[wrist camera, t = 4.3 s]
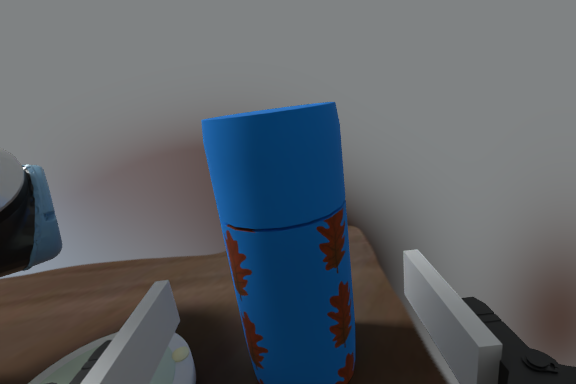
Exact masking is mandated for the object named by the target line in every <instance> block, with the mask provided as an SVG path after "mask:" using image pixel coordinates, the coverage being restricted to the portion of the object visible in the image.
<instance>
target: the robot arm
mask: <svg viewBox="0 0 576 384" xmlns="http://www.w3.org/2000/svg"><path fill="white" fill-rule="evenodd" d="M61 249H62V240H61V236H60V231H59V227H58V223H57V219H56V216H55V211H54V207H53V203H52V199H51V195H50V191H49V187H48V183H47V180H46V176H45V173H44V170H43V169H42V167H40V166H37V165H28V164H27V165H21V164H20V162H19V161H18V160H17V159H16V157H15V156H13V155H12V154H11V153H9V152H7V151H6V150H4V149H1V148H0V277H3V276H5V275H9V274H12V273H15V272H18V271H22V270H23V271H24V270H28V269H30V268H31V267H32V266H34V265H37V264H40V263H43V262H45V261H48V260H51V259H53V258H54V257H56V256H57V255H58V254H59V253H60V251H61ZM403 256H404V292H405V293H404V294H405V295H406V297H407V299H408V300H409V302H410V304H411V305H412V307H413V309H414V310H415V312H416V313H417V315H418V316H419V318H420V320H421V322H422V323H423V325H424V326H425V328H426V330H427V331H428V333H429V335H430V336H431V337H432V339H433V341H434V343H435V344H436V346H437V347H438V349H439V350H440V352H441V354H442V356H443V357H444V359H445V360H446V362H447V364H448V365H449V367H450V369H451V370H452V372H453V373H454V375H455V377H456V378H457V380H458V381H459V383H460V384H576V367H571V366H565V365H561V364H558V363H557V362H556V360H554V359H553V358H551V357H550V356H548V355H547V354H545V353H543V352H540V351H538V350H535V349H530V348H529V347H528V346H527V345H526V344H525V343H524V342H523V341H522V340H521V339H520V338H519V337H518V336H517V335H516V334H515V333H514V332H513V331H512V330H511V329H510V328H509V327H508V326H507V325H506V324H505V323H504V322H502V321H501V319H500V318H499V317H498V316H497V315H496V314H494V312H493V311H492V310H491V309H490V308H489V307H488V306H487V305H486V304H485V303H483V302H481V301H479V300H477V299H476V298H474V297H468V298H460V296H459V295H458V294H457V293H456V292H455V291H454V290H453V289H452V287H451V286H450V285H449V284H448V283H447V282H446V281H445V280H444V278H443V277H442V276H441V275H440V274H439V273H438V272H437V271H436V270H435V268H434V267H433V266H432V265H431V264H430V263H429V262H428V261H427V259H426V258H425V257H424V256H423V255H422V254H421V253H420V252H419V251H418V250H417V249H416V250H408V251H403ZM179 322H180V317H179V314H178V310H177V307H176V304H175V300H174V297H173V293H172V290H171V286H170V283H169V280H165V281H156V282H155V283H154V284H153V286H152V287H151V288H150V290H149V291H148V292H147V294H146V295H145V296H144V298H143V299H142V301H141V302H140V303H139V305H138V306H137V307H136V309H135V310H134V311H133V313H132V314H131V315H130V317H129V318H128V320H127V321H126V322H125V324H124V325H123V326H122V328H121V329H120V330H119V332H118V333H117V335H116V336H115V337H114V339H113V340H107V341H105V342H104V343H103V344H102V345H101V346H99V347H98V348H97V349H96V350H95V351H94V352H93V354H92V355H91V356H90V358H89V359H88V361H87V362H86V363H85V364H84V365H83V367H82V368H81V370H80V371H79V372H78V373H77V374H76V376H75V377H74V378H73V379H72V381H71V382H70V383H69V384H150V382H151V380H152V378H153V376H154V374H155V371H156V369H157V367H158V365H159V363H160V361H161V359H162V357H163V355H164V353H165V351H166V349H167V347H168V345H169V343H170V341H171V339H172V337H173V335H174V333H175V331H176V328H177V326H178V324H179ZM46 384H57V383H53V382H51V383H46Z"/></svg>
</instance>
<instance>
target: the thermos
mask: <svg viewBox="0 0 576 384" xmlns="http://www.w3.org/2000/svg"><path fill="white" fill-rule="evenodd" d="M202 132H203V142H204V148H205V152H206V157H207V162H208V166H209V171H210V176H211V181H212V185H213V190H214V194H215V199H216V204H217V209H218V213H219V216H220V217H219V218H220V222H221V227H222V232H223V237H224V241H225V246H226V251H227V255H228V260H229V265H230V269H231V274H232V279H233V283H234V288H235V293H236V297H237V302H238V307H239V311H240V316H241V321H242V325H243V330H244V335H245V340H246V343H247V347H248V350H249V354H250V357H251V361H252V364H253V368H254V371H255V374H256V377H257V380H258V383H259V384H348V383H349V381H350V379H351V378H352V376H353V373H354V366H355V318H354V305H353V292H352V279H351V266H350V253H349V240H348V227H347V216H346V215H347V213H346V201H345V187H344V174H343V163H342V162H343V161H342V149H341V135H340V124H339V119H338V114H337V109H336V104H335V102H325V103H316V104H307V105H298V106H290V107H283V108H275V109H268V110H261V111H253V112H247V113H241V114H233V115H227V116H220V117H215V118H209V119H204V120H202Z"/></svg>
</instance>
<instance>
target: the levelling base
mask: <svg viewBox="0 0 576 384" xmlns="http://www.w3.org/2000/svg"><path fill="white" fill-rule="evenodd" d="M117 333H118V332H117ZM117 333H114V334H111V335H108V336H105V337H103V338H100V339H98V340H95V341H93V342H91V343H89V344H87V345H85V346H83V347H81V348H79V349H77V350H75V351H74V352H72V353H70V354H68V355H67V356H65V357H63V358H62V359H60V360H59V361H57V362H56V363H54V364H53V365H51V366H50V367H49V368H47V369H46V370H44V371H43V372H42V373H40V374H39V375H38V376H37V377H35V378H34V379H33V380H32V381H30V382H29V383H28V384H46V383H51V382H53V383H57V384H69V383H70V382H71V381H72V379H73V378H74V377H75V376H76V374H77V373H78V372H79V371H80V370H81V368H82V367H83V365H84V364H85V363H86V362H87V361H88V359H89V358H90V356H91V355H92V354H93V352H94V351H95V350H96V349H97V348H98V347H99V346H101V345H102V344H103V343H104V342H105V341H107V340H113V339H114V337H115V336H116V335H117ZM150 384H196V369H195V365H194V361H193V358H192V354H191V351H190V348H189V346H188V344H187V343H186V341H185V340H184V339H183V338H182V337H181V336H180V335H178V334H177V333H174V335H173V337H172V339H171V341H170V343H169V345H168V347H167V349H166V351H165V353H164V355H163V357H162V359H161V361H160V363H159V365H158V367H157V369H156V371H155V374H154V376H153V378H152V380H151V382H150Z"/></svg>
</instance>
